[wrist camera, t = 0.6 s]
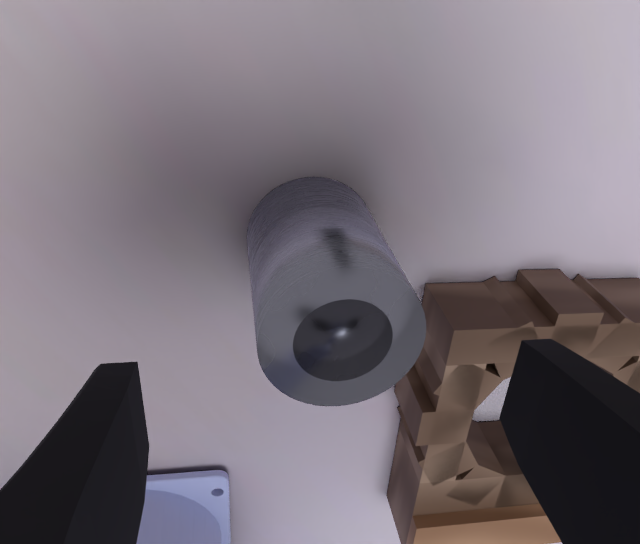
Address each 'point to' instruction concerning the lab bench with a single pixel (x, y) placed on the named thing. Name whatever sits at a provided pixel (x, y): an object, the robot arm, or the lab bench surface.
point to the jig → (477, 383)
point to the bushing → (329, 296)
